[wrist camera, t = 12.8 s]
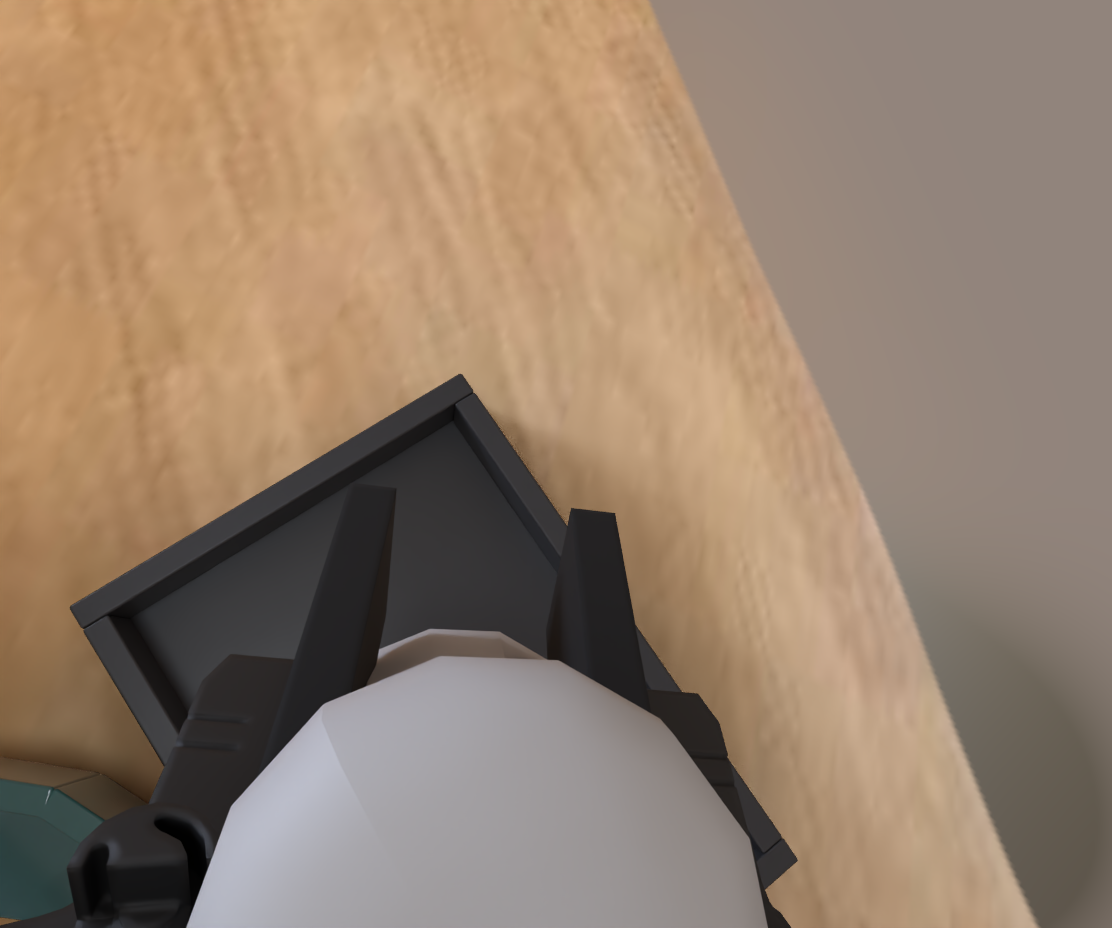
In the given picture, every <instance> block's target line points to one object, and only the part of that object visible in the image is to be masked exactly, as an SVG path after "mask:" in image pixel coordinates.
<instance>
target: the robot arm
mask: <svg viewBox="0 0 1112 928" xmlns="http://www.w3.org/2000/svg"><path fill="white" fill-rule="evenodd" d="M396 491H397V488H392V487H383V486H374V485H366V484H357V483H350V485H349V488H348V491H347V494H346V498H345V501H344V504H343V507H342V510H341V513H340V516H339V520H338V523H337V526H336V529H335V532H334V535H333V538H332V542H331V545H330V548H329V551H328V554H327V557H326V561H325V564H324V567H323V570H322V573H321V576H320V579H319V583H318V586H317V589H316V592H315V595H314V598H313V601H312V605H311V608H310V611H309V614H308V617H307V620H306V624H305V627H304V630H303V633H302V636H301V639H300V642H299V646H298V649H297V652H296V655H295V658H294V659H282V658H271V657H260V656H249V655H238V654H230V655H229V656H228V657H226V658H225V659H224V660H223V661H222V662H221V663H220V664H219V665H218V666H217V667H216V668H215V669H214V670H213V671H212V672H211V673H210V674H209V675H207V676H206V677H205V678H204V679H203V680H202V682H201V684H200V687H199V689H198V691H197V694H196V696H195V698H194V700H193V703H192V705H191V707H190V710H189V712H188V717H187V719H185V721H184V723H183V726H182V728H181V730H180V733H179V735H178V737H177V739H176V745H175V747H173V749H172V751H171V753H170V755H169V758H168V760H167V762H166V765H165V767H164V769H163V772H162V774H161V776H160V778H159V781H158V783H157V785H156V788H155V790H154V792H153V794H152V797H151V799H150V801H149V804H147V805H142V806H137V807H132V808H129V809H127V810H125V811H123V812H121V813H119V814H117V815H115V816H113V817H111V818H109V819H108V820H106V821H104V822H102V823H101V824H100V825H99V826H98V827H97V828H96V829H95V830H93V831H92V832H91V833H90V834H89V835H88V836H87V837H86V838H85V839H84V840H83V841H82V842H80V844H79V846H78V848H77V849H76V851H75V853H74V855H73V857H72V858H71V860H70V862H69V864H68V866H67V867H66V869H67V874H68V878H69V883H70V888H71V893H72V898H73V903H71V904H70V905H68V906H66V907H64V908H62V909H59V910H56V911H53V912H50V913H47V914H44V915H41V916H38V917H34V918H29V919H25V920H21V921H17V922H13V923H9V924H4V925H0V928H186V927H187V924H188V922H189V919H190V916H191V914H192V911H193V908H194V905H195V903H196V900H197V897H198V895H199V892H200V889H201V886H202V884H203V881H204V878H205V876H206V873H207V870H208V867H209V865H210V862H211V859H212V857H213V854H214V851H215V848H216V846H217V843H218V840H219V838H220V835H221V832H222V829H223V827H224V824H225V821H226V819H227V816H228V813H229V810H230V808H231V806H232V805H233V804H234V802H235V801H236V800H237V799H238V798H239V797H240V796H241V795H242V794H243V793H244V791H245V790H246V789H247V788H248V787H249V786H250V785H251V784H252V783H253V781H254V780H255V779H256V778H257V777H258V776H259V775H260V774H261V773H262V772H263V770H264V769H265V768H266V767H267V766H268V765H269V764H270V763H271V762H272V760H273V759H274V758H275V757H276V756H277V755H278V754H279V753H280V752H281V751H282V749H283V748H284V747H285V746H286V745H287V744H288V743H289V742H290V741H291V739H292V738H293V737H294V736H295V735H296V734H297V733H298V732H299V731H300V730H301V728H302V727H303V726H304V725H305V724H306V723H307V722H308V721H309V720H310V718H311V717H312V716H313V715H314V714H315V713H316V712H317V711H318V710H319V709H320V707H321V706H322V705H323V704H325V703H327V702H330V701H332V700H335V699H337V698H339V697H342V696H344V695H347V694H349V693H352V692H354V691H356V690H359V689H361V688H364V687H366V684H367V681H368V680H369V678H370V676H371V674H372V672H373V670H374V669H375V667H376V664H377V659H378V654H379V649H380V643H381V638H382V633H383V628H384V623H385V618H386V612H387V600H388V587H389V575H390V563H391V551H392V539H393V527H394V515H395V503H396ZM546 644H547V660H559V661H561V662H562V663H564V664H566V665H568V666H569V667H571V668H573V669H574V670H576V671H578V672H580V673H581V674H583V675H585V676H587V677H588V678H590V679H592V680H594V681H595V682H597V683H599V684H601V685H602V686H604V687H606V688H607V689H609V690H611V691H613V692H614V693H616V694H618V695H620V696H621V697H623V698H625V699H627V700H628V701H630V702H632V703H633V704H635V705H637V706H639V707H640V708H642V709H644V710H646V711H647V712H649V713H651V714H653V715H654V716H656V717H658V718H659V719H661V720H662V722H663V723H664V724H665V725H666V726H667V727H668V729H669V730H670V731H671V732H672V733H673V734H674V736H675V737H676V738H677V740H678V741H679V742H680V744H681V745H682V747H683V748H684V749H685V751H686V752H687V753H688V755H689V756H690V758H691V759H692V760H693V762H694V763H695V764H696V766H697V767H698V769H699V770H700V771H701V773H702V774H703V775H704V777H705V778H706V780H707V781H708V782H709V784H710V785H711V786H712V788H713V789H714V791H715V792H716V793H717V795H718V796H719V797H720V799H721V800H722V802H723V803H724V804H725V806H726V807H727V808H728V810H729V811H730V813H731V814H732V815H733V817H734V818H735V819H736V821H737V822H738V824H739V825H740V826H741V828H742V829H743V830H744V832H745V833H746V835H747V836H748V837H749V839H750V835H749V832H748V828H747V824H746V820H745V817H744V813H743V809H742V806H741V802H740V798H739V795H738V791H737V787H735V786H734V782H735V780H734V776H733V772H732V769H731V765H730V761H728V760H727V756H728V754H727V750H726V746H725V743H724V739H723V735H722V731H721V728H720V724H719V722H718V720H717V719H716V718H715V716H714V715H713V714H712V712H711V711H710V710H709V708H708V707H707V705H706V704H705V703H704V701H703V700H702V699H701V697H700V696H699V695H698V694H696V693H685V692H674V691H663V690H651V689H647V686H646V681H645V675H644V670H643V664H642V659H641V653H640V648H639V642H638V637H637V631H636V626H635V620H634V615H633V609H632V604H631V599H630V593H629V588H628V582H627V577H626V571H625V566H624V560H623V555H622V549H621V544H620V538H619V533H618V527H617V522H616V516H615V513H609V512H600V511H592V510H583V509H574V508H571V512H570V516H569V521H568V526H567V531H566V535H565V540H564V545H563V550H562V555H561V559H560V564H559V569H558V574H557V579H556V583H555V588H554V593H553V598H552V603H551V607H550V612H549V617H548V622H547V627H546ZM750 843H751V839H750ZM751 848H752V852H753V857H754V862H755V867H756V872H757V877H758V882H759V887H760V892H761V896H762V901H763V906H764V911H765V916H766V921H767V926H768V928H791V927H790V925H789V924H788V922H787V921H786V920H785V918H784V917H783V915H782V914H781V913H780V912H779V911H778V910H776V909H775V908H774V907H773V906H772V905H771V903H770V902H769V899H768V897H767V894H766V892H765V889H764V886H763V884H762V880H761V876H760V872H759V869H758V865H757V861H756V858H755V854H754V850H753V846H752V843H751Z"/></svg>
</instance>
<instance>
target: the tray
mask: <svg viewBox="0 0 1112 928" xmlns="http://www.w3.org/2000/svg"><path fill="white" fill-rule="evenodd" d="M350 483H357V484H366V485H374V486H383V487H392V488H397V491H396V503H395V515H394V527H393V539H392V551H391V563H390V575H389V587H388V600H387V612H386V618H385V623H384V628H383V633H382V638H381V643H380V649H381V648H384V647H386V646H389V645H391V644H394V643H396V642H399V641H401V640H403V639H406V638H408V637H411V636H413V635H416V634H418V633H421V632H423V631H426V630H428V629H446V630H471V631H496V632H501V633H502V634H504V635H506V636H508V637H509V638H511V639H513V640H514V641H516V642H518V643H520V644H521V645H523V646H525V647H526V648H528V649H530V650H532V651H533V652H535V653H537V654H538V655H540V656H542V657H543V658H545V659H547V644H546V627H547V622H548V617H549V612H550V607H551V603H552V598H553V593H554V588H555V583H556V579H557V574H558V569H559V564H560V559H561V555H562V550H563V545H564V540H565V535H566V531H567V525H566V524H565V522H564V521H563V519H562V518H561V516H560V515H559V514H558V512H557V511H556V509H555V508H554V506H553V505H552V503H551V502H550V501H549V499H548V498H547V496H546V495H545V493H544V492H543V490H542V489H541V487H540V486H539V485H538V483H537V482H536V480H535V479H534V477H533V476H532V474H531V473H530V472H529V470H528V469H527V467H526V466H525V464H524V463H523V461H522V460H521V459H520V457H519V456H518V454H517V453H516V451H515V450H514V448H513V447H512V446H511V444H510V443H509V441H508V440H507V438H506V437H505V435H504V434H503V433H502V431H501V430H500V428H499V427H498V425H497V424H496V422H495V421H494V420H493V418H492V417H491V415H490V414H489V412H488V411H487V409H486V408H485V407H484V405H483V404H482V402H481V401H480V399H479V398H478V396H477V395H476V394H475V393H473V389H472V388H471V386H470V385H469V384H468V382H467V381H466V379H465V378H464V376H463V375H462V374H458V375H457V376H455V377H453V378H452V379H450V380H448V381H447V382H445V383H443V384H442V385H440V386H438V387H437V388H435V389H433V390H431V391H430V392H428V393H426V394H425V395H423V396H421V397H420V398H418V399H416V400H415V401H413V402H411V403H410V404H408V405H406V406H405V407H403V408H401V409H400V410H398V411H396V412H395V413H393V414H391V415H390V416H388V417H386V418H385V419H383V420H381V421H380V422H378V423H376V424H374V425H373V426H371V427H369V428H368V429H366V430H364V431H363V432H361V433H359V434H358V435H356V436H354V437H353V438H351V439H349V440H348V441H346V442H344V443H343V444H341V445H339V446H338V447H336V448H334V449H333V450H331V451H329V452H328V453H326V454H324V455H322V456H321V457H319V458H317V459H316V460H314V461H312V462H311V463H309V464H307V465H306V466H304V467H302V468H301V469H299V470H297V471H296V472H294V473H292V474H291V475H289V476H287V477H286V478H284V479H282V480H281V481H279V482H277V483H276V484H274V485H272V486H270V487H269V488H267V489H265V490H264V491H262V492H260V493H259V494H257V495H255V496H254V497H252V498H250V499H249V500H247V501H245V502H244V503H242V504H240V505H239V506H237V507H235V508H234V509H232V510H230V511H229V512H227V513H225V514H224V515H222V516H220V517H219V518H217V519H215V520H213V521H212V522H210V523H208V524H207V525H205V526H203V527H202V528H200V529H198V530H197V531H195V532H193V533H192V534H190V535H188V536H187V537H185V538H183V539H182V540H180V541H178V542H177V543H175V544H173V545H172V546H170V547H168V548H167V549H165V550H163V551H161V552H160V553H158V554H156V555H155V556H153V557H151V558H150V559H148V560H146V561H145V562H143V563H141V564H140V565H138V566H136V567H135V568H133V569H131V570H130V571H128V572H126V573H125V574H123V575H121V576H120V577H118V578H116V579H115V580H113V581H111V582H109V583H108V584H106V585H104V586H103V587H101V588H99V589H98V590H96V591H94V592H93V593H91V594H89V595H88V596H86V597H84V598H83V599H81V600H79V601H78V602H76V603H74V604H73V605H71V606H70V610H71V612H72V613H73V615H74V617H75V618H76V620H77V622H78V623H79V625H80V627H81V628H82V629H84V630H83V631H84V634H85V635H86V637H87V639H88V640H89V642H90V644H91V645H92V647H93V649H94V650H95V652H96V654H97V655H98V657H99V659H100V660H101V662H102V664H103V665H104V667H105V669H106V670H107V672H108V674H109V675H110V677H111V679H112V680H113V682H114V684H115V685H116V687H117V689H118V690H119V692H120V694H121V695H122V697H123V699H124V700H125V702H126V704H127V705H128V707H129V709H130V710H131V712H132V714H133V715H134V717H135V719H136V720H137V722H138V724H139V725H140V727H141V729H142V730H143V732H144V734H145V735H146V737H147V739H148V740H149V742H150V744H151V745H152V747H153V749H154V750H155V752H156V754H157V755H158V757H159V759H160V760H161V762H162V764H163V765H164V767H165V765H166V762H167V760H168V758H169V755H170V753H171V751H172V749H173V747H175V745H176V739H177V737H178V735H179V733H180V730H181V728H182V726H183V723H184V721H185V719H187V717H188V712H189V710H190V707H191V705H192V703H193V700H194V698H195V696H196V694H197V691H198V689H199V687H200V684H201V682H202V680H203V679H204V678H205V677H206V676H207V675H209V674H210V673H211V672H212V671H213V670H214V669H215V668H216V667H217V666H218V665H219V664H220V663H221V662H222V661H223V660H224V659H225V658H226V657H228V656H229V655H230V654H238V655H249V656H260V657H271V658H282V659H294V658H295V655H296V652H297V649H298V646H299V642H300V639H301V636H302V633H303V630H304V627H305V624H306V620H307V617H308V614H309V611H310V608H311V605H312V601H313V598H314V595H315V592H316V589H317V586H318V583H319V579H320V576H321V573H322V570H323V567H324V564H325V561H326V557H327V554H328V551H329V548H330V545H331V542H332V538H333V535H334V532H335V529H336V526H337V523H338V520H339V516H340V513H341V510H342V507H343V504H344V501H345V498H346V494H347V491H348V488H349V485H350ZM635 626H636V625H635ZM636 631H637V637H638V642H639V648H640V653H641V659H642V664H643V670H644V675H645V681H646V686H647V689H651V690H663V691H674V692H682V691H681V690H680V688H679V687H678V686H677V684H676V683H675V681H674V680H673V678H672V677H671V675H670V674H669V673H668V671H667V670H666V668H665V667H664V665H663V664H662V662H661V661H660V660H659V658H658V657H657V655H656V654H655V652H654V651H653V649H652V648H651V647H650V645H649V644H648V642H647V641H646V639H645V638H644V636H643V635H642V634H641V632H640V631H639V629H638V628H637V626H636ZM727 760H728V761H729V759H728V758H727ZM730 765H731V769H732V772H733V776H734V780H735V782H734V786H735V787H737V791H738V795H739V798H740V802H741V806H742V809H743V813H744V817H745V820H746V824H747V828H748V832H749V835H750V839H751V843H752V846H753V850H754V854H755V858H756V861H757V865H758V869H759V872H760V876H761V880H762V884H763V886H764V889H766V888H767V887H768V886H770V885H771V884H772V883H773V882H774V881H775V880H776V879H778V878H779V877H780V876H781V875H782V874H783V873H784V872H785V871H787V870H788V869H789V868H790V867H791V866H792V865H793V864H795V863H796V862H797V861H798V860H797V857H796V856H795V855H794V853H793V852H792V850H791V849H790V847H789V846H788V844H787V843H786V842H785V840H784V839H783V838H782V837H781V834H780V833H779V832H778V830H777V829H776V827H775V826H774V824H773V823H772V821H771V820H770V819H769V817H768V816H767V814H766V813H765V811H764V810H763V808H762V807H761V806H760V804H759V803H758V801H757V800H756V798H755V797H754V795H753V794H752V793H751V791H750V790H749V788H748V787H747V785H746V784H745V782H744V781H743V780H742V778H741V777H740V775H739V774H738V772H737V771H736V769H735V768H734V767H733V765H732V764H731V762H730Z"/></svg>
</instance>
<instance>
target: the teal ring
mask: <svg viewBox="0 0 1112 928" xmlns="http://www.w3.org/2000/svg"><path fill="white" fill-rule="evenodd" d="M142 805H147V803H146V802H144V801H143V800H141V799H140V798H138V797H137V796H135V795H134V794H132V793H131V792H129V791H128V790H126V789H125V788H123V787H122V786H120V785H119V784H117V783H116V782H114V781H113V780H111V779H110V778H108V777H107V776H105V775H103V774H101V775H100V773H98V772H93V771H87V770H80V769H74V768H68V767H62V766H56V765H50V764H43V763H37V762H31V761H25V760H19V759H13V758H6V757H0V917H2V918H9V919H16V920H25V919H29V918H34V917H38V916H41V915H44V914H47V913H50V912H53V911H56V910H59V909H62V908H64V907H66V906H68V905H70V904H71V903H73V898H72V893H71V888H70V883H69V878H68V874H67V869H66V867H67V866H68V864H69V862H70V860H71V858H72V857H73V855H74V853H75V851H76V849H77V848H78V846H79V844H80V842H82V841H83V840H84V839H85V838H86V837H87V836H88V835H89V834H90V833H91V832H92V831H93V830H95V829H96V828H97V827H98V826H99V825H100V824H101V823H102V822H104V821H106V820H108V819H109V818H111V817H113V816H115V815H117V814H119V813H121V812H123V811H125V810H127V809H129V808H132V807H137V806H142Z"/></svg>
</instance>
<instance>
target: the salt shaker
mask: <svg viewBox="0 0 1112 928" xmlns="http://www.w3.org/2000/svg"><path fill="white" fill-rule="evenodd" d="M186 928H768V926H767V921H766V916H765V911H764V906H763V901H762V896H761V892H760V887H759V882H758V877H757V872H756V867H755V862H754V857H753V852H752V848H751V843H750V839H749V837H748V836H747V835H746V833H745V832H744V830H743V829H742V828H741V826H740V825H739V824H738V822H737V821H736V819H735V818H734V817H733V815H732V814H731V813H730V811H729V810H728V808H727V807H726V806H725V804H724V803H723V802H722V800H721V799H720V797H719V796H718V795H717V793H716V792H715V791H714V789H713V788H712V786H711V785H710V784H709V782H708V781H707V780H706V778H705V777H704V775H703V774H702V773H701V771H700V770H699V769H698V767H697V766H696V764H695V763H694V762H693V760H692V759H691V758H690V756H689V755H688V753H687V752H686V751H685V749H684V748H683V747H682V745H681V744H680V742H679V741H678V740H677V738H676V737H675V736H674V734H673V733H672V732H671V731H670V730H669V729H668V727H667V726H666V725H665V724H664V723H663V722H662V720H661V719H659V718H658V717H656V716H654V715H653V714H651V713H649V712H647V711H646V710H644V709H642V708H640V707H639V706H637V705H635V704H633V703H632V702H630V701H628V700H627V699H625V698H623V697H621V696H620V695H618V694H616V693H614V692H613V691H611V690H609V689H607V688H606V687H604V686H602V685H601V684H599V683H597V682H595V681H594V680H592V679H590V678H588V677H587V676H585V675H583V674H581V673H580V672H578V671H576V670H574V669H573V668H571V667H569V666H568V665H566V664H564V663H562V662H561V661H559V660H547V659H545V658H543V657H542V656H540V655H538V654H537V653H535V652H533V651H532V650H530V649H528V648H526V647H525V646H523V645H521V644H520V643H518V642H516V641H514V640H513V639H511V638H509V637H508V636H506V635H504V634H502V633H501V632H496V631H471V630H446V629H428V630H426V631H423V632H421V633H418V634H416V635H413V636H411V637H408V638H406V639H403V640H401V641H399V642H396V643H394V644H391V645H389V646H386V647H384V648H381V649H379V654H378V659H377V664H376V667H375V669H374V670H373V672H372V674H371V676H370V678H369V680H368V681H367V684H366V687H364V688H361V689H359V690H356V691H354V692H352V693H349V694H347V695H344V696H342V697H339V698H337V699H335V700H332V701H330V702H327V703H325V704H323V705H322V706H321V707H320V709H319V710H318V711H317V712H316V713H315V714H314V715H313V716H312V717H311V718H310V720H309V721H308V722H307V723H306V724H305V725H304V726H303V727H302V728H301V730H300V731H299V732H298V733H297V734H296V735H295V736H294V737H293V738H292V739H291V741H290V742H289V743H288V744H287V745H286V746H285V747H284V748H283V749H282V751H281V752H280V753H279V754H278V755H277V756H276V757H275V758H274V759H273V760H272V762H271V763H270V764H269V765H268V766H267V767H266V768H265V769H264V770H263V772H262V773H261V774H260V775H259V776H258V777H257V778H256V779H255V780H254V781H253V783H252V784H251V785H250V786H249V787H248V788H247V789H246V790H245V791H244V793H243V794H242V795H241V796H240V797H239V798H238V799H237V800H236V801H235V802H234V804H233V805H232V806H231V808H230V810H229V813H228V816H227V819H226V821H225V824H224V827H223V829H222V832H221V835H220V838H219V840H218V843H217V846H216V848H215V851H214V854H213V857H212V859H211V862H210V865H209V867H208V870H207V873H206V876H205V878H204V881H203V884H202V886H201V889H200V892H199V895H198V897H197V900H196V903H195V905H194V908H193V911H192V914H191V916H190V919H189V922H188V924H187V927H186Z"/></svg>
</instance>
